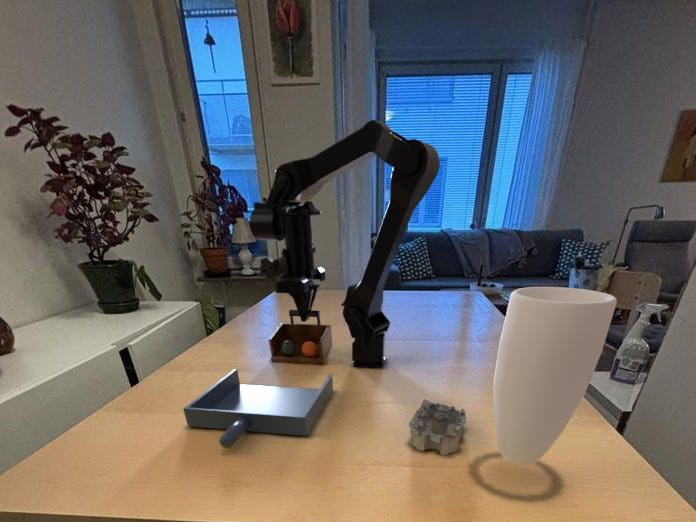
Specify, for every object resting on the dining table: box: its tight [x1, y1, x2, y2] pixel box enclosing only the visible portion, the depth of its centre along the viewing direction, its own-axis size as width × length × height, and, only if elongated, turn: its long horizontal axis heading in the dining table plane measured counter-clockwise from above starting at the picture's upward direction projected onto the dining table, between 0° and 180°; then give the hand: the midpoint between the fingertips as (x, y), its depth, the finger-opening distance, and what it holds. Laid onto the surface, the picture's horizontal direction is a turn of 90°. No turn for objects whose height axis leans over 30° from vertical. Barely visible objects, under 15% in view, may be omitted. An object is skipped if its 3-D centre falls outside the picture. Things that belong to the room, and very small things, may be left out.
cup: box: [493, 286, 618, 466], centre depth 45 cm, size 10×10×22 cm
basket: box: [268, 309, 334, 366], centre depth 89 cm, size 12×10×8 cm
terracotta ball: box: [302, 341, 317, 357], centre depth 88 cm, size 3×3×3 cm
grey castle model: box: [408, 399, 467, 456], centre depth 59 cm, size 11×8×4 cm
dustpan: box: [183, 368, 334, 449], centre depth 64 cm, size 26×19×3 cm
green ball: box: [280, 340, 296, 356], centre depth 89 cm, size 3×3×3 cm
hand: (305, 320), depth 91 cm, fingers closed, pressing on basket
